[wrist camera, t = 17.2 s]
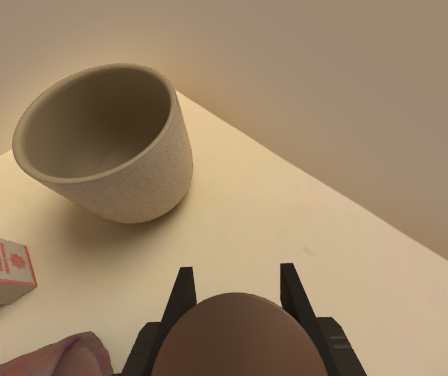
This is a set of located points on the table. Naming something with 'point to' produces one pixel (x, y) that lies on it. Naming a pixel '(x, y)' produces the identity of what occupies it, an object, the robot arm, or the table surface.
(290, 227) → the table surface
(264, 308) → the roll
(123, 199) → the planter
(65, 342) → the pink vase
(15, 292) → the tea bag
